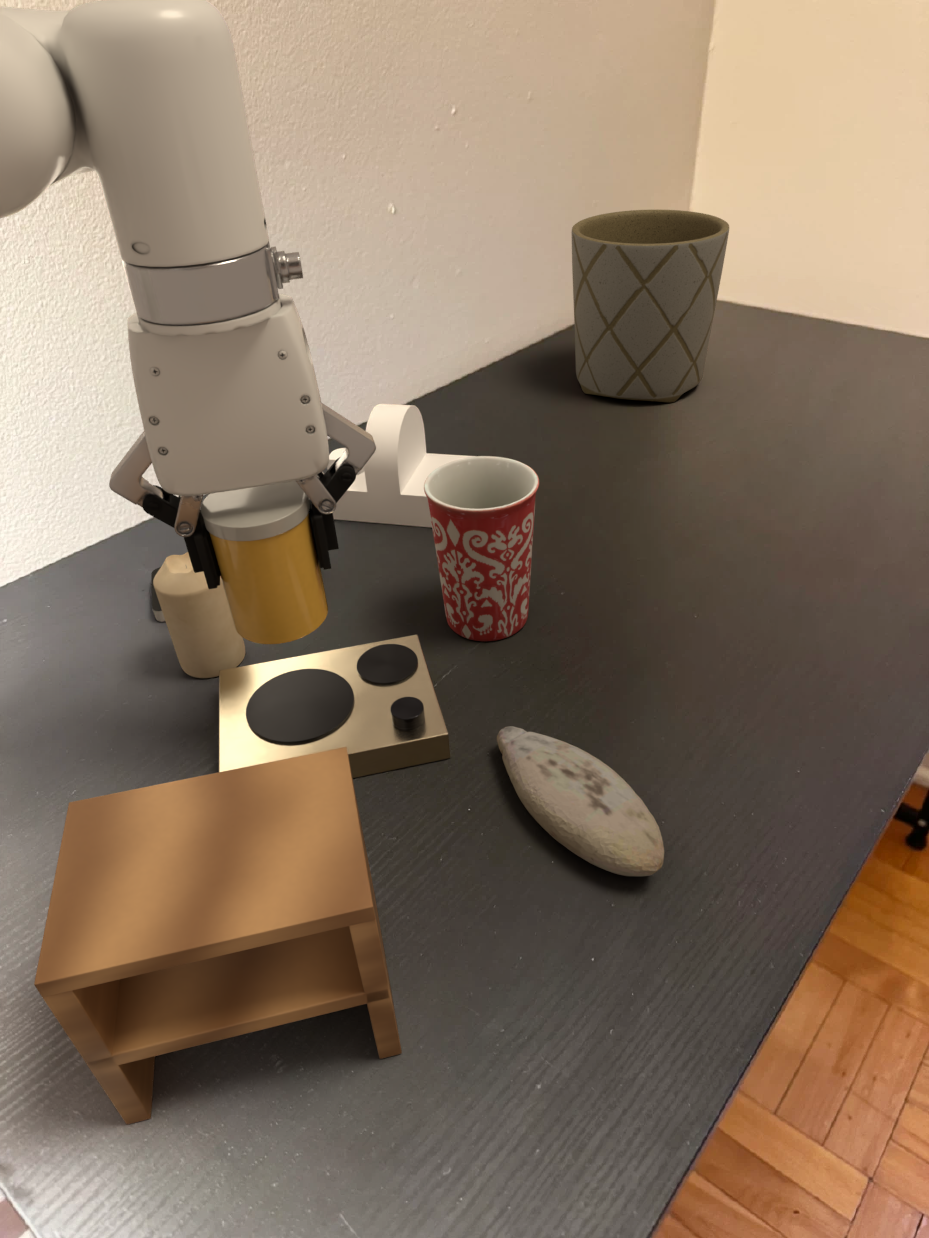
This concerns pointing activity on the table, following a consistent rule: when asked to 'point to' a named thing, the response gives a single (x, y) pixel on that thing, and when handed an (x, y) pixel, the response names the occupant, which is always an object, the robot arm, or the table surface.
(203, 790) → the shelf
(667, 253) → the planter
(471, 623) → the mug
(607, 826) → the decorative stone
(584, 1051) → the table surface
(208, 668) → the candle
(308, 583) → the jar
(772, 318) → the table surface
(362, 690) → the hob
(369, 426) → the u-slot stand
